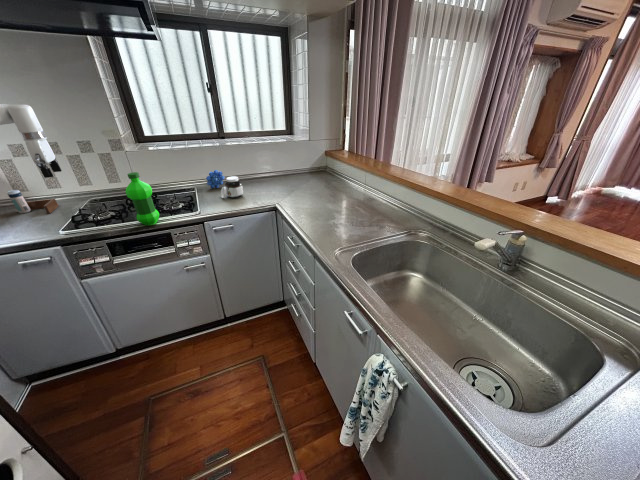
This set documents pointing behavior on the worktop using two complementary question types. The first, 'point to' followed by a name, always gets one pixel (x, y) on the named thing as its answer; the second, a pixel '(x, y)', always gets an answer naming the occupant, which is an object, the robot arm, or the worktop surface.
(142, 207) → the plastic bottle
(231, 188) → the spread jar
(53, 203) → the corner rack
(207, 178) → the blue knobbly toy
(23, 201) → the white pill bottle
